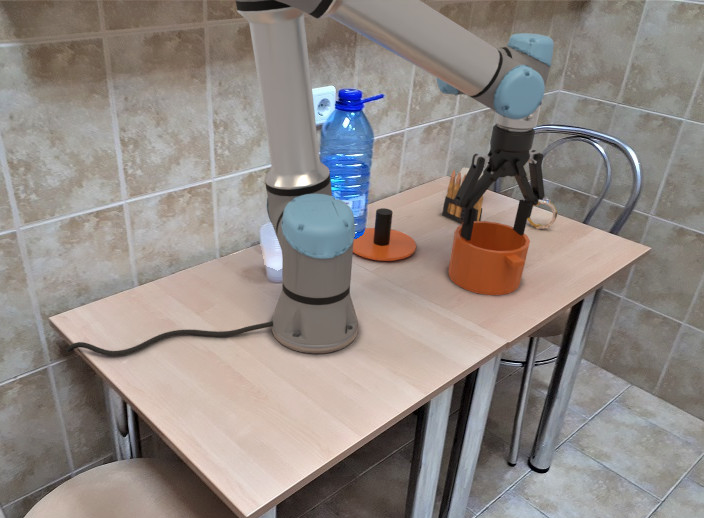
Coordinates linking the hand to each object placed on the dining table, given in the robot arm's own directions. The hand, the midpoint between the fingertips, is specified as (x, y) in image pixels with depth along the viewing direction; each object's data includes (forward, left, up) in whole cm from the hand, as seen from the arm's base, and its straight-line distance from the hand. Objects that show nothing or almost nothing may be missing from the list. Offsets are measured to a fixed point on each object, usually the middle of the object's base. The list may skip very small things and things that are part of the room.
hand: (492, 235), depth 123 cm
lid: (-16, +18, -9) cm, 26 cm away
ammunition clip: (+9, +27, -10) cm, 30 cm away
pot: (0, 0, -10) cm, 10 cm away
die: (+18, +40, -10) cm, 45 cm away
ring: (+26, +19, -10) cm, 34 cm away
